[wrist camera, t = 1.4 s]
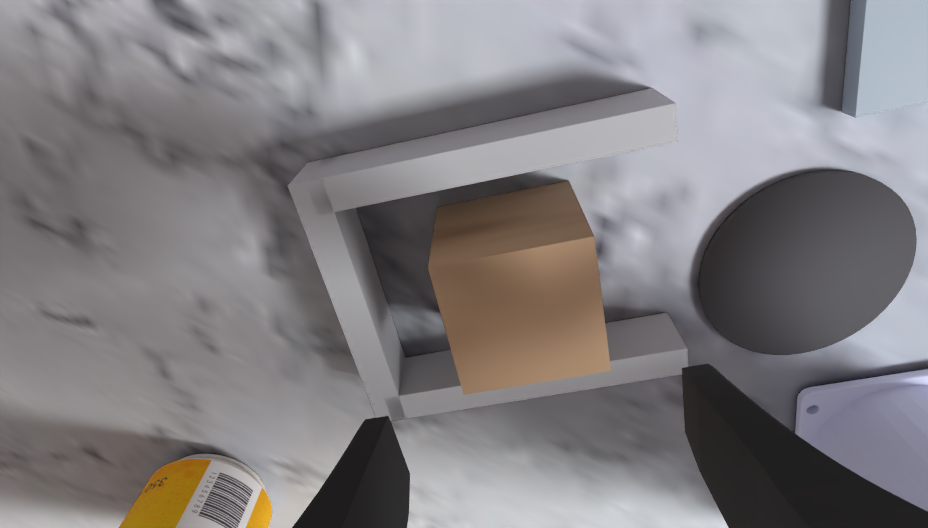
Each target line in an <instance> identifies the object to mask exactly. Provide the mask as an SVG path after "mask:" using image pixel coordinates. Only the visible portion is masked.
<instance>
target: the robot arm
mask: <svg viewBox="0 0 928 528" xmlns="http://www.w3.org/2000/svg"><path fill="white" fill-rule="evenodd" d="M682 381H683V399H684V418H685V433H686V435H687V438H688V441H689V444H690V446H691V449H692V452H693V454H694V457H695V460H696V462H697V465H698V467H699V470H700V472H701V474H702V476H703V478H704V480H705V482H706V484H707V486H708V488H709V490H710V492H711V494H712V496H713V498H714V500H715V502H716V504H717V506H718V508H719V510H720V512H721V514H722V515H723V517H724V519H725V521H726V523H727V525H728V527H729V528H928V369H925V370H918V371H912V372H905V373H899V374H892V375H886V376H879V377H873V378H866V379H860V380H853V381H847V382H840V383H834V384H827V385H821V386H814V387H809V388H805V389H804V390H802V391H801V392H800V393H799V395H798V398H797V413H796V429H795V433H794V432H792V431H791V430H790V429H788V428H787V427H786V426H784V425H783V424H782V423H780V422H779V421H778V420H776V419H775V418H774V417H773V416H771V415H770V414H769V413H767V412H766V411H765V410H763V409H762V408H761V407H760V406H758V405H757V404H756V403H755V402H753V401H752V400H751V399H750V398H749V397H747V396H746V395H745V394H744V393H743V392H741V391H740V390H739V389H738V388H737V387H736V386H734V385H733V384H732V383H731V382H730V381H729V380H727V379H726V378H725V377H724V376H723V375H722V374H721V373H719V372H718V371H717V370H716V369H715V368H714V367H712V366H711V365H709V364H703V365H697V366H691V367H685V368H682ZM812 405H813V406H812ZM810 406H812V407H810ZM809 407H810V408H809ZM409 489H410V473H409V470H408V467H407V465H406V462H405V459H404V456H403V454H402V451H401V448H400V446H399V443H398V440H397V437H396V435H395V432H394V429H393V427H392V424H391V421H390V418H389V416H384V417H378V418H372V419H365V421H364V422H363V423H362V425H361V427H360V428H359V430H358V431H357V433H356V434H355V436H354V438H353V439H352V441H351V443H350V444H349V446H348V447H347V449H346V451H345V452H344V454H343V455H342V457H341V458H340V460H339V462H338V463H337V465H336V466H335V468H334V469H333V471H332V472H331V474H330V475H329V477H328V478H327V480H326V481H325V483H324V484H323V486H322V487H321V489H320V490H319V492H318V493H317V495H316V496H315V497H314V499H313V500H312V502H311V503H310V504H309V506H308V507H307V508H306V510H305V511H304V512H303V514H302V515H301V517H300V518H299V519H298V521H297V522H296V523H295V525H294V526H293V527H292V528H407V522H408V515H409Z"/></svg>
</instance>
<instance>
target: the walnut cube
mask: <svg viewBox="0 0 928 528" xmlns="http://www.w3.org/2000/svg"><path fill="white" fill-rule="evenodd" d="M428 271H429V274H430V278H431V281H432V285H433V288H434V292H435V295H436V299H437V302H438V306H439V310H440V313H441V317H442V320H443V324H444V327H445V331H446V334H447V338H448V341H449V345H450V349H451V352H452V356H453V359H454V363H455V366H456V370H457V373H458V377H459V380H460V384H461V387H462V391H463V395H466V394H472V393H478V392H484V391H491V390H497V389H503V388H509V387H515V386H521V385H527V384H534V383H540V382H546V381H552V380H558V379H564V378H570V377H576V376H583V375H589V374H595V373H601V372H607V371H611V366H610V358H609V350H608V342H607V334H606V326H605V318H604V310H603V302H602V294H601V286H600V278H599V271H598V263H597V255H596V247H595V239H594V235H593V233H592V230H591V228H590V226H589V224H588V222H587V220H586V217H585V215H584V213H583V211H582V209H581V206H580V204H579V202H578V200H577V198H576V195H575V193H574V191H573V189H572V187H571V184H570V182H569V181H564V182H559V183H554V184H549V185H544V186H539V187H534V188H529V189H524V190H520V191H515V192H510V193H505V194H500V195H495V196H490V197H485V198H480V199H475V200H470V201H465V202H460V203H455V204H450V205H445V206H440V207H437V210H436V217H435V223H434V230H433V237H432V243H431V250H430V256H429V263H428Z"/></svg>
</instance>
